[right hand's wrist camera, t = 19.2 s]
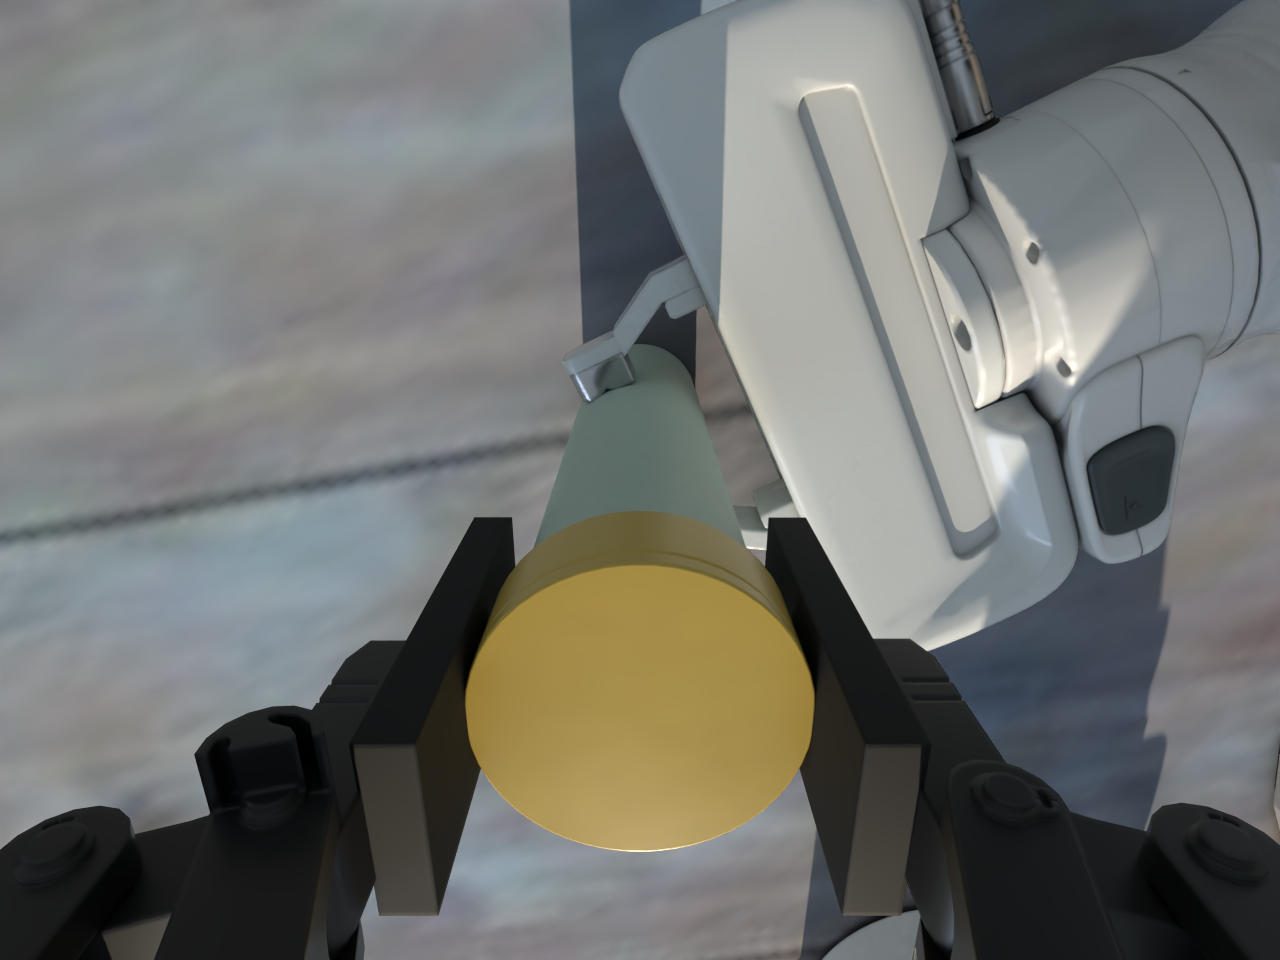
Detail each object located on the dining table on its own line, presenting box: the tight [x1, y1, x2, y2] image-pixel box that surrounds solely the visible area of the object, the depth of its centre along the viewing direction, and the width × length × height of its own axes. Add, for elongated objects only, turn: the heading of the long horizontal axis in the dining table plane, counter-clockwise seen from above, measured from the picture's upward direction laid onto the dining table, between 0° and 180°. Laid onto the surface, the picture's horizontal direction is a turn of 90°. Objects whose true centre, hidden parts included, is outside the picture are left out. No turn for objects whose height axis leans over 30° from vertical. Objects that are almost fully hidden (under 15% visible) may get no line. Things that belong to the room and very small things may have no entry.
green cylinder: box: [534, 344, 746, 547], centre depth 20 cm, size 4×4×19 cm
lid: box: [465, 511, 815, 852], centre depth 11 cm, size 5×5×2 cm
